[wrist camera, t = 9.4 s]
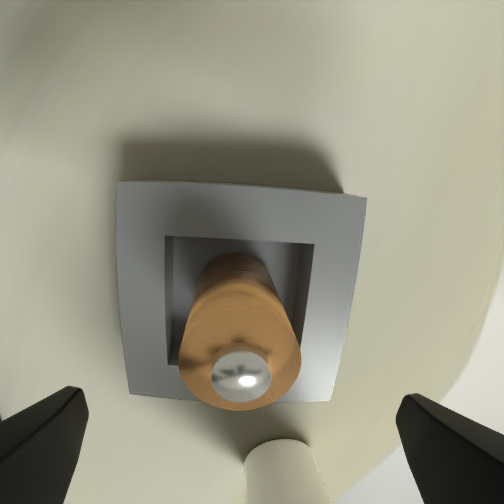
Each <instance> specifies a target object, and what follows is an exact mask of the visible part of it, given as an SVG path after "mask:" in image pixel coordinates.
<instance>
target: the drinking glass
mask: <svg viewBox="0 0 504 504" xmlns="http://www.w3.org/2000/svg"><path fill="white" fill-rule="evenodd" d="M244 472H245V504H333V501H332V499H331V497H330V495H329V492H328V490H327V488H326V485H325V483H324V481H323V478H322V476H321V473H320V471H319V469H318V466H317V462H316V459H315V456H314V453H313V451H312V450H311V448H310V447H309V446H308V445H306V444H305V443H303V442H301V441H297V440H293V439H277V440H272V441H268V442H265V443H263V444H261V445H259V446H257V447H255V448H254V449H253V450H252V451H250V453H249V454H248V455H247V457H246V459H245V463H244Z"/></svg>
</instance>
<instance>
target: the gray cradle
mask: <svg viewBox="0 0 504 504" xmlns="http://www.w3.org/2000/svg"><path fill="white" fill-rule="evenodd" d="M366 203H367V198H365V197H360V196H355V195H350V194H345V193H336V192H327V191H317V190H307V189H297V188H285V187H273V186H260V185H246V184H231V183H213V182H191V181H162V180H130V181H119V182H117V188H116V257H117V280H118V297H119V310H120V322H121V332H122V341H123V350H124V358H125V365H126V373H127V379H128V386H129V392H130V394H134V395H142V396H150V397H159V398H169V399H180V400H193V401H202V400H200V399H199V398H198V397H196V396H195V395H194V394H193V393H192V392H191V391H190V390H189V389H188V387H187V386H186V384H185V383H184V381H183V379H182V377H181V374H180V371H179V364H178V358H179V352H180V347H181V343H182V339H183V335H184V331H185V327H186V324H187V320H188V316H189V312H190V308H191V304H192V301H193V297H194V293H195V289H196V286H197V282H198V278H199V276H200V273H201V272H202V270H203V268H204V267H205V266H206V265H207V264H208V263H209V262H210V261H211V260H213V259H214V258H216V257H218V256H220V255H223V254H226V253H244V254H248V255H250V256H253V257H255V258H256V259H258V260H259V261H260V262H262V263H263V264H264V265H265V267H266V268H267V269H268V271H269V273H270V275H271V278H272V280H273V283H274V285H275V287H276V290H277V292H278V295H279V297H280V300H281V302H282V305H283V307H284V310H285V312H286V315H287V317H288V319H289V322H290V324H291V327H292V329H293V332H294V334H295V337H296V339H297V342H298V344H299V347H300V351H301V368H300V372H299V375H298V377H297V379H296V381H295V383H294V384H293V386H292V387H291V388H290V389H289V391H288V392H287V393H285V394H284V395H283V396H282V397H281V398H279V399H278V400H276V401H275V402H273V403H290V402H314V401H330V399H331V395H332V391H333V388H334V384H335V380H336V376H337V371H338V367H339V363H340V359H341V354H342V350H343V345H344V341H345V336H346V331H347V326H348V321H349V316H350V311H351V306H352V300H353V295H354V289H355V283H356V277H357V271H358V264H359V258H360V251H361V244H362V237H363V229H364V221H365V212H366Z"/></svg>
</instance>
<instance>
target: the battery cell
mask: <svg viewBox="0 0 504 504" xmlns="http://www.w3.org/2000/svg"><path fill="white" fill-rule="evenodd" d="M178 364H179V371H180V374H181V377H182V379H183V381H184V383H185V384H186V386H187V387H188V389H189V390H190V391H191V392H192V393H193V394H194V395H195V396H196V397H198V398H199V399H200V400H202V401H203V402H205V403H207V404H209V405H212V406H214V407H217V408H220V409H225V410H231V411H246V410H253V409H258V408H261V407H264V406H267V405H269V404H271V403H273V402H275V401H276V400H278V399H279V398H281V397H282V396H283V395H284V394H285V393H287V392H288V391H289V389H290V388H291V387H292V386H293V384H294V383H295V381H296V379H297V377H298V375H299V372H300V368H301V351H300V347H299V344H298V342H297V339H296V337H295V334H294V332H293V329H292V327H291V324H290V322H289V319H288V317H287V315H286V312H285V310H284V307H283V305H282V302H281V300H280V297H279V295H278V292H277V290H276V287H275V285H274V283H273V280H272V278H271V275H270V273H269V271H268V269H267V268H266V267H265V265H264V264H263V263H262V262H260V261H259V260H258V259H256V258H255V257H253V256H250V255H248V254H244V253H226V254H223V255H220V256H218V257H216V258H214V259H213V260H211V261H210V262H209V263H208V264H207V265H206V266H205V267H204V268H203V270H202V272H201V273H200V276H199V278H198V282H197V286H196V289H195V293H194V297H193V301H192V304H191V308H190V312H189V316H188V320H187V324H186V327H185V331H184V335H183V339H182V343H181V347H180V352H179V358H178Z"/></svg>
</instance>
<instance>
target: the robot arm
mask: <svg viewBox="0 0 504 504" xmlns="http://www.w3.org/2000/svg"><path fill="white" fill-rule="evenodd" d="M88 417H89V411H88V407H87V403H86V400H85V396H84V392H83V390H82V389H81V388H78V387H73V386H67V387H65V388H63V389H61V390H59V391H58V392H56V393H54V394H52V395H50V396H48V397H47V398H45V399H43V400H41V401H39V402H37V403H35V404H34V405H32V406H30V407H28V408H26V409H24V410H22V411H20V412H19V413H17V414H15V415H13V416H11V417H9V418H7V419H5V420H3V421H2V422H1V420H0V504H63V503H64V500H65V497H66V494H67V491H68V488H69V485H70V482H71V479H72V476H73V473H74V471H75V468H76V465H77V462H78V458H79V454H80V450H81V446H82V441H83V437H84V433H85V429H86V425H87V421H88ZM396 425H397V428H398V431H399V435H400V438H401V441H402V445H403V448H404V452H405V455H406V458H407V462H408V464H409V467H410V469H411V472H412V474H413V477H414V479H415V482H416V484H417V486H418V489H419V491H420V494H421V497H422V499H423V502H424V504H504V435H503V434H501V433H499V432H496V431H494V430H492V429H490V428H488V427H485V426H483V425H481V424H479V423H477V422H475V421H473V420H471V419H469V418H467V417H464V416H462V415H460V414H458V413H456V412H454V411H452V410H450V409H448V408H446V407H444V406H442V405H440V404H438V403H436V402H434V401H432V400H430V399H428V398H426V397H424V396H422V395H420V394H418V393H414V394H408V395H406V396H404V398H403V400H402V402H401V405H400V407H399V410H398V412H397V415H396Z"/></svg>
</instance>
